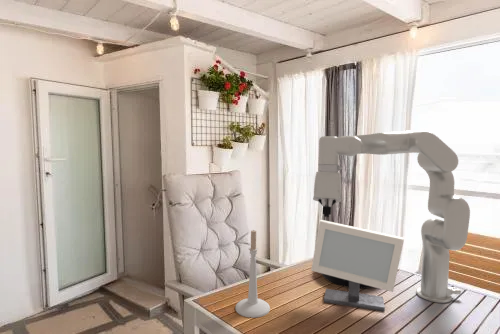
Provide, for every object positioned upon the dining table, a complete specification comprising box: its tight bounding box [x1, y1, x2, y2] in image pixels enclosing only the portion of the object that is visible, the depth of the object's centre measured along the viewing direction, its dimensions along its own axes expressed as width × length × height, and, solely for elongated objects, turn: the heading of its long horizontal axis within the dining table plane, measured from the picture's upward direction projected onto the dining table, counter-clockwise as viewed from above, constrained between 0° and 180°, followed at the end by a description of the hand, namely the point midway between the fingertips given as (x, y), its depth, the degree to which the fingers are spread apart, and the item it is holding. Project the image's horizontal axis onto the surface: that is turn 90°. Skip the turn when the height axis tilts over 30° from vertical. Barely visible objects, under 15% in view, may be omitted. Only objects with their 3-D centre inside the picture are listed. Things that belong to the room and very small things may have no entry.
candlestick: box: [235, 229, 271, 319], centre depth 122 cm, size 13×13×30 cm
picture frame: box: [310, 219, 405, 293], centre depth 125 cm, size 30×3×20 cm, turn 73°
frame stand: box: [323, 281, 386, 312], centre depth 129 cm, size 22×9×23 cm, turn 73°
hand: (326, 216), depth 127 cm, fingers closed
